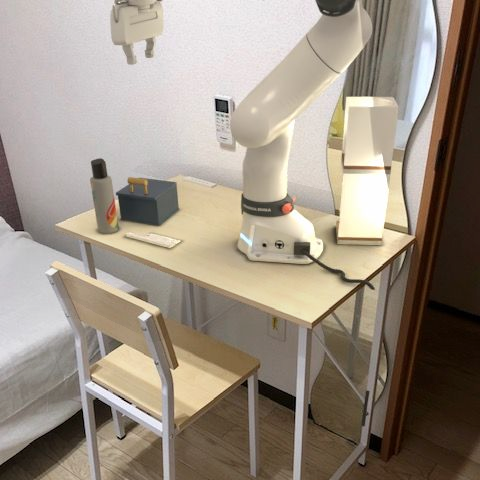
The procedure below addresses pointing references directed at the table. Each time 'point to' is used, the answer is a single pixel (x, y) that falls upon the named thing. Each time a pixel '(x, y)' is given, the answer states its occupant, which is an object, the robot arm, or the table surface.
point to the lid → (145, 188)
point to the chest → (149, 208)
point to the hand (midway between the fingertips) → (141, 60)
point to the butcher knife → (154, 239)
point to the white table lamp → (366, 168)
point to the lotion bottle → (103, 197)
